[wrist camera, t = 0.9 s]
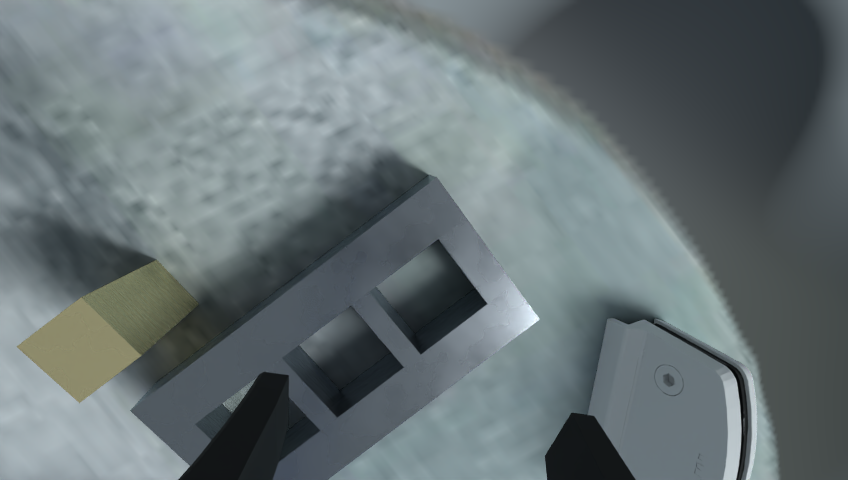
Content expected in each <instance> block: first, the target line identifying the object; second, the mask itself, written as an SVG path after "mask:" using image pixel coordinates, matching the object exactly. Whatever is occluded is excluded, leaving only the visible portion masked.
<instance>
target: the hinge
mask: <svg viewBox="0 0 848 480" xmlns="http://www.w3.org/2000/svg"><path fill="white" fill-rule="evenodd" d="M588 415H592V416H595V418H596V419H597V421H598V422H599V424H600V425H601V427H602V428H603V430H604V432H605V433H606V435H607V436H608V438H609V439H610V441H611V442H612V444H613V445H614V447H615V449H616V450H617V452H618V453H619V455H620V456H621V458H622V459H623V461H624V462H625V464H626V465H627V467H628V469H629V470H630V472H631V473H632V475H633V476H634V478H635V479H636V480H750V476H751V472H752V468H753V464H754V457H755V450H756V440H757V407H756V395H755V389H754V382H753V376H752V374H751V372H750V370H749V369H748V368H747V367H746V366H745V365H743V364H742V363H740V362H738V361H736V360H734V359H733V358H731V357H729V356H727V355H725V354H724V353H722V352H720V351H718V350H716V349H714V348H713V347H711V346H709V345H707V344H705V343H703V342H702V341H700V340H698V339H696V338H694V337H692V336H691V335H689V334H687V333H685V332H683V331H681V330H680V329H678V328H676V327H674V326H672V325H671V324H669V323H667V322H665V321H662V320H659V319H655V320H654V323H653V324H651V323H650V322H648V321H646V320H641V321H638V322H635V323H632V324H626V323H623V322H621V321H619V320H617V319H614V318H609V319H607V324H606V328H605V333H604V338H603V343H602V348H601V353H600V357H599V362H598V367H597V372H596V377H595V382H594V386H593V391H592V396H591V401H590V406H589V410H588Z"/></svg>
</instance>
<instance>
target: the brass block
mask: <svg viewBox="0 0 848 480" xmlns="http://www.w3.org/2000/svg"><path fill="white" fill-rule="evenodd" d="M198 305H199V303H198V302H197V301H196V300H195V299H194V298H193V297H192V296H191V295H190V294H189V293H188V292H187V291H186V290H185V289H184V288H183V287H182V286H181V285H180V284H179V283H178V282H177V280H176V279H175V278H174V277H173V276H172V275H171V274H170V273H169V272H168V271H167V270H166V269H165V268H164V267H163V266H162V265H161V264H160V263H159V262H158V261H157V260H155V261H153V262H151V263H149V264H147V265H145V266H143V267H141V268H139V269H137V270H135V271H133V272H131V273H129V274H127V275H125V276H123V277H121V278H119V279H117V280H115V281H113V282H111V283H109V284H107V285H105V286H103V287H101V288H99V289H97V290H95V291H93V292H91V293H89V294H87V295H85V296H83V297H81V298H80V299H78V300H77V301H76V302H74V303H73V304H72V305H70V306H69V307H68V308H67V309H65V310H64V311H63V312H61V313H60V314H59V315H57V316H56V317H55V318H53V319H52V320H51V321H50V322H48V323H47V324H46V325H44V326H43V327H42V328H40V329H39V330H38V331H36V332H35V333H34V334H33V335H31V336H30V337H29V338H27V339H26V340H25V341H23V342H22V343H21V344H19V345H18V346H17V348H19V349H20V350H21V351H22V352H23V353H24V354H25V355H26V356H28V357H29V358H30V359H31V360H32V361H33V362H34V363H35V364H36V365H38V366H39V367H40V368H41V369H42V370H43V371H44V372H45V373H47V374H48V375H49V376H50V377H51V378H52V379H53V380H54V381H55V382H57V383H58V384H59V385H60V386H61V387H62V388H63V389H64V390H66V391H67V392H68V393H69V394H70V395H71V396H72V397H73V398H75V399H76V400H77V401H78V402H79V403H80V402H81V401H83V400H84V399H85V398H87V397H88V396H89V395H91V394H92V393H93V392H94V391H96V390H97V389H98V388H100V387H101V386H102V385H104V384H105V383H106V382H108V381H109V380H110V379H112V378H113V377H114V376H115V375H117V374H118V373H119V372H121V371H122V370H123V369H125V368H126V367H127V366H129V365H130V364H131V363H133V362H134V361H135V360H136V359H138V358H139V357H140V356H142V355H143V354H144V353H145V352H146V351H147V350H148V349H149V348H151V347H152V346H153V345H154V344H155V343H156V342H157V341H158V340H160V339H161V338H162V337H163V336H164V335H165V334H166V333H167V332H168V331H170V330H171V329H172V328H173V327H174V326H175V325H176V324H177V323H179V322H180V321H181V320H182V319H183V318H184V317H185V316H186V315H187V314H189V313H190V312H191V311H192V310H193V309H194V308H195V307H196V306H198Z"/></svg>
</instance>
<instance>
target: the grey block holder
mask: <svg viewBox="0 0 848 480" xmlns="http://www.w3.org/2000/svg"><path fill="white" fill-rule="evenodd" d="M436 240H439V242H440V243H441V244H442V246H443V247H444V248H445V250H446V251H447V252H448V254H449V255H450V256H451V258H452V259H453V260H454V262H455V263H456V264H457V266H458V267H459V268H460V270H461V271H462V272H463V273H464V275H465V276H466V277H467V279H468V280H469V281H470V283H471V284H472V285H473V287H474V288H475V289H474V290H472V291H471V292H470V293H468V294H467V295H466V296H464V297H463V298H462V299H460V300H459V301H458V302H456V303H455V304H454V305H452V306H451V307H450V308H449V309H447V310H446V311H445V312H443V313H442V314H441V315H439V316H438V317H437V318H435V319H434V320H433V321H431V322H430V323H429V324H427V325H426V326H425V327H423V328H422V329H421V330H419V331H418V332H417V333H416V334H414V332H413V331H412V330H411V329H410V327H409V326H408V325H407V324H406V323H405V321H404V320H403V319H402V318H401V316H400V315H399V314H398V313H397V312H396V310H395V309H394V308H393V307H392V306H391V304H390V303H389V302H388V301H387V299H386V298H385V297H384V296H383V295H382V293H381V292H380V291H379V290H378V288H377V287H376V286H377V285H379V284H380V283H381V282H382V281H384V280H385V279H386V278H388V277H389V276H390V275H392V274H393V273H394V272H396V271H397V270H398V269H400V268H401V267H402V266H404V265H405V264H406V263H407V262H409V261H410V260H411V259H413V258H414V257H415V256H417V255H418V254H419V253H421V252H422V251H423V250H425V249H426V248H427V247H429V246H430V245H431V244H432V243H434V242H435V241H436ZM350 306H352V307H353V308H354V309H355V310H356V311H357V313H358V314H359V315H360V316H361V317H362V318H363V320H364V321H365V322H366V323H367V324H368V326H369V327H370V328H371V329H372V330H373V331H374V333H375V334H376V335H377V336H378V337H379V338H380V340H381V341H382V342H383V343H384V344H385V346H386V347H387V348H388V349H389V350H390V351H391V352H390V353H389V354H388V355H387V356H385V357H384V358H383V359H381V360H380V361H379V362H377V363H376V364H375V365H373V366H372V367H371V368H369V369H368V370H367V371H365V372H364V373H363V374H361V375H360V376H359V377H358V378H356V379H355V380H354V381H352V382H351V383H350V384H348V385H347V386H346V387H344V388H343V389H342V390H339V389H338V388H337V387H336V386H335V384H334V383H333V382H332V381H331V380H330V379H329V378H328V377H327V376H326V375H325V374H324V372H323V371H322V370H321V369H320V368H319V367H318V366H317V365H316V364H315V363H314V361H313V360H312V359H311V358H310V357H309V356H308V355H307V354H306V353H305V352H304V350H303V349H302V348H301V347H300V346H299V345H300V344H301V343H302V342H304V341H305V340H306V339H307V338H309V337H310V336H311V335H313V334H314V333H315V332H317V331H318V330H319V329H321V328H322V327H323V326H325V325H326V324H327V323H329V322H330V321H331V320H332V319H334V318H335V317H336V316H338V315H339V314H340V313H342V312H343V311H344V310H346V309H347V308H348V307H350ZM538 320H539V318H538V316H537V315H536V314H535V312H534V311H533V309H532V308H531V307H530V305H529V304H528V303H527V301H526V300H525V298H524V297H523V296H522V294H521V293H520V291H519V290H518V289H517V287H516V286H515V285H514V283H513V282H512V280H511V279H510V278H509V276H508V275H507V273H506V272H505V271H504V269H503V268H502V267H501V265H500V264H499V262H498V261H497V260H496V258H495V257H494V256H493V254H492V253H491V251H490V250H489V249H488V247H487V246H486V244H485V243H484V242H483V240H482V239H481V238H480V236H479V235H478V233H477V232H476V231H475V229H474V228H473V227H472V225H471V224H470V222H469V221H468V220H467V218H466V217H465V215H464V214H463V213H462V211H461V210H460V209H459V207H458V206H457V204H456V203H455V202H454V200H453V199H452V197H451V196H450V195H449V193H448V192H447V191H446V189H445V188H444V186H443V185H442V184H441V182H440V181H439V180H438V178H437V177H434V176H431V175H428V176H427V177H425V178H424V179H423V180H421V181H420V182H419V183H418V184H416V185H415V186H414V187H412V188H411V189H410V190H408V191H407V192H406V193H404V194H403V195H402V196H400V197H399V198H398V199H397V200H395V201H394V202H393V203H391V204H390V205H389V206H387V207H386V208H385V209H383V210H382V211H381V212H379V213H378V214H377V215H376V216H374V217H373V218H372V219H370V220H369V221H368V222H366V223H365V224H364V225H362V226H361V227H360V228H358V229H357V230H356V231H355V232H353V233H352V234H351V235H349V236H348V237H347V238H345V239H344V240H343V241H341V242H340V243H339V244H337V245H336V246H335V247H333V248H332V249H331V250H330V251H328V252H327V253H326V254H324V255H323V256H322V257H320V258H319V259H318V260H316V261H315V262H314V263H312V264H311V265H310V266H309V267H307V268H306V269H305V270H303V271H302V272H301V273H299V274H298V275H297V276H295V277H294V278H293V279H291V280H290V281H289V282H288V283H286V284H285V285H284V286H282V287H281V288H280V289H278V290H277V291H276V292H274V293H273V294H272V295H270V296H269V297H268V298H267V299H265V300H264V301H263V302H261V303H260V304H259V305H257V306H256V307H255V308H253V309H252V310H251V311H249V312H248V313H247V314H245V315H244V316H243V317H242V318H240V319H239V320H238V321H236V322H235V323H234V324H232V325H231V326H230V327H228V328H227V329H226V330H224V331H223V332H222V333H221V334H219V335H218V336H217V337H215V338H214V339H213V340H211V341H210V342H209V343H207V344H206V345H205V346H203V347H202V348H201V349H200V350H198V351H197V352H196V353H194V354H193V355H192V356H190V357H189V358H188V359H186V360H185V361H184V362H182V363H181V364H180V365H179V366H177V367H176V368H175V369H173V370H172V371H171V372H169V373H168V374H167V375H165V376H164V377H163V378H161V379H160V380H159V381H157V382H156V383H155V384H154V385H153V387H152V388H151V389H150V390H149V391H148V392H147V393H146V394H145V395H144V396H143V397H142V398H141V400H140V401H139V402H138V403H137V404H136V405H135V406H134V407H133V408H132V409H131V410H130V411H131V412H132V413H133V414H134V415H136V416H137V417H138V418H139V419H140V420H141V421H142V422H143V423H144V424H145V425H146V426H147V427H149V428H150V429H151V430H152V431H153V432H154V433H155V434H156V435H157V436H158V437H159V438H160V439H162V440H163V441H164V442H165V443H166V444H167V445H168V446H169V447H170V448H171V449H172V450H174V451H175V452H176V453H177V454H178V455H179V456H180V457H181V458H182V459H183V460H184V461H185V462H187V463H188V464H189V465H190V466H191V465H192V464H193V462H194V461H195V460H196V459H197V458H198V456H199V455H200V454H201V453H202V452H203V450H204V449H205V448H206V447H207V445H208V444H209V443H210V442H211V440H212V439H213V438H214V437H215V435H216V434H217V433H218V432H219V430H220V429H221V428H222V427H223V425H224V424H225V423H226V421H227V420H228V419H229V417H230V416H231V415H232V413H231V412H230V411H229V410H228V409H227V408H226V407H225V406H224V405H223V404H222V403H223V402H225V401H226V400H227V399H228V398H230V397H231V396H232V395H234V394H235V393H236V392H238V391H239V390H240V389H242V388H243V387H244V386H246V385H247V384H248V383H250V382H251V381H252V380H253V379H255V378H256V377H257V376H258V375H259V374H260V373H262V372H270V373H277V374H285V375H289V398H290V399H291V400H292V401H293V402H294V403H295V404H296V405H297V406H298V407H299V408H300V410H301V411H302V412H303V413H304V414H305V415H306V417H305V418H303V419H302V420H301V421H299V422H298V423H297V424H296V425H294V426H293V427H292V428H290V429H289V430H288V431H287V432H286V436H285V439H284V443H283V447H282V451H281V455H280V458H279V462H278V466H277V469H276V472H275V474H274V477H273V480H328V479H329V478H330V477H332V476H333V475H334V474H336V473H337V472H338V471H340V470H341V469H342V468H344V467H345V466H346V465H348V464H349V463H350V462H352V461H353V460H354V459H356V458H357V457H358V456H360V455H361V454H362V453H364V452H365V451H366V450H367V449H369V448H370V447H371V446H373V445H374V444H375V443H377V442H378V441H379V440H381V439H382V438H383V437H385V436H386V435H387V434H389V433H390V432H391V431H393V430H394V429H395V428H397V427H398V426H399V425H401V424H402V423H403V422H404V421H406V420H407V419H408V418H410V417H411V416H412V415H414V414H415V413H416V412H418V411H419V410H420V409H422V408H423V407H424V406H426V405H427V404H428V403H430V402H431V401H432V400H434V399H435V398H436V397H438V396H439V395H440V394H441V393H443V392H444V391H445V390H447V389H448V388H449V387H451V386H452V385H453V384H455V383H456V382H457V381H459V380H460V379H461V378H463V377H464V376H465V375H467V374H468V373H469V372H471V371H472V370H473V369H475V368H476V367H477V366H479V365H480V364H481V363H482V362H484V361H485V360H486V359H488V358H489V357H490V356H492V355H493V354H494V353H496V352H497V351H498V350H500V349H501V348H502V347H504V346H505V345H506V344H508V343H509V342H510V341H512V340H513V339H514V338H516V337H517V336H518V335H519V334H521V333H522V332H523V331H525V330H526V329H527V328H529V327H530V326H531V325H533V324H534V323H535V322H537V321H538Z"/></svg>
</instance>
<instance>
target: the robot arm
mask: <svg viewBox="0 0 848 480" xmlns="http://www.w3.org/2000/svg"><path fill="white" fill-rule="evenodd" d="M288 420H289V375H285V374H277V373H270V372H262V373H260V374H259V375H258V377H257V378H256V380H255V382H254V383H253V385H252V386H251V388H250V389H249V391H248V392H247V394H246V395H245V397H244V398H243V399H242V401H241V402H240V404H239V405H238V406H237V408H236V409H235V411H234V412H233V413H232V415H231V416H230V417H229V419H228V420H227V421H226V423H225V424H224V425H223V427H222V428H221V429H220V430H219V432H218V433H217V434H216V435H215V437H214V438H213V439H212V440H211V442H210V443H209V444H208V445H207V447H206V448H205V449H204V450H203V452H202V453H201V454H200V455H199V456H198V458H197V459H196V460H195V461H194V462H193V464H192V465H191V466H190V467H189V468H188V469H187V471H186V472H185V473H184V474H183V475H182V476H181V477H180V479H179V480H273V477H274V474H275V472H276V469H277V466H278V462H279V458H280V455H281V451H282V447H283V443H284V439H285V436H286V432H287V428H288ZM545 461H546V472H547V480H636V479H635V478H634V476H633V475H632V473H631V472H630V470H629V469H628V467H627V465H626V464H625V462H624V461H623V459H622V458H621V456H620V455H619V453H618V452H617V450H616V449H615V447H614V445H613V444H612V442H611V441H610V439H609V438H608V436H607V435H606V433H605V432H604V430H603V428H602V427H601V425H600V424H599V422H598V421H597V419H596V418H595V416H592V415H584V414H577V413H571V415H570V416H569V418H568V419H567V421H566V423H565V424H564V426H563V428H562V429H561V431H560V432H559V434H558V436H557V437H556V439H555V441H554V442H553V444H552V445H551V447H550V449H549V450H548V452H547V454H546V455H545Z"/></svg>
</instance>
